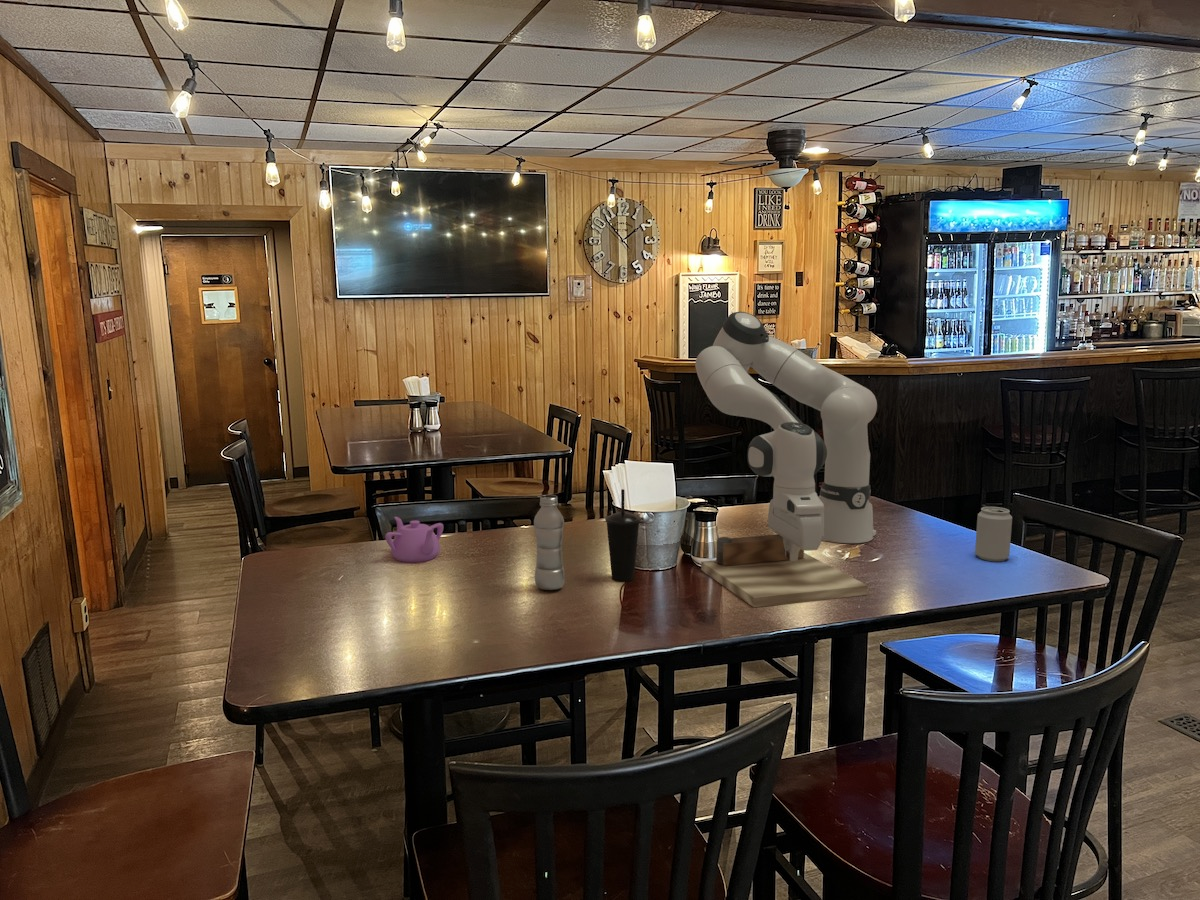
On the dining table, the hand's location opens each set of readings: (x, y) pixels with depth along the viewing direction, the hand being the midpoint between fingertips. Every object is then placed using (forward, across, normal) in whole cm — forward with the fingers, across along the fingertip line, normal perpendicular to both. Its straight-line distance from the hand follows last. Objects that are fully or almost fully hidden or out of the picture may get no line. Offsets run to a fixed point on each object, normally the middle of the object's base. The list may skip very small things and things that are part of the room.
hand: (791, 559), depth 192 cm
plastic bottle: (+4, -3, -53) cm, 53 cm away
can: (+4, -5, +53) cm, 54 cm away
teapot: (+5, -34, -81) cm, 88 cm away
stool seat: (+4, +2, -3) cm, 6 cm away
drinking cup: (+4, -7, -36) cm, 37 cm away
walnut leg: (+2, -7, -5) cm, 9 cm away
